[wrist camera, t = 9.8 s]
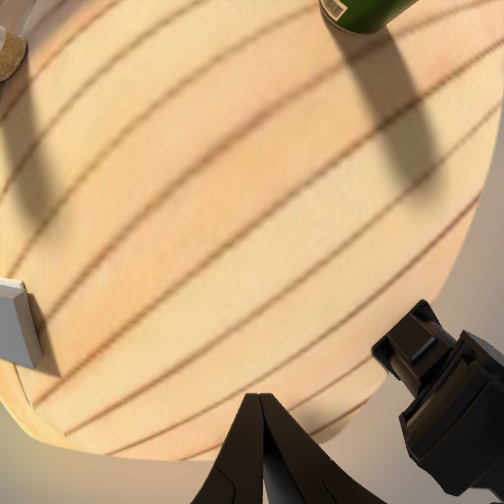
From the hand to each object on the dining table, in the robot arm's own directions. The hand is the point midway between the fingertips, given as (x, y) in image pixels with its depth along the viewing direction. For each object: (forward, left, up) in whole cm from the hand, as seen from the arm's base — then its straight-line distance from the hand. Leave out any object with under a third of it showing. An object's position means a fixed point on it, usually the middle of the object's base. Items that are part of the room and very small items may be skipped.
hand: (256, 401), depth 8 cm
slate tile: (+10, +17, -10) cm, 22 cm away
